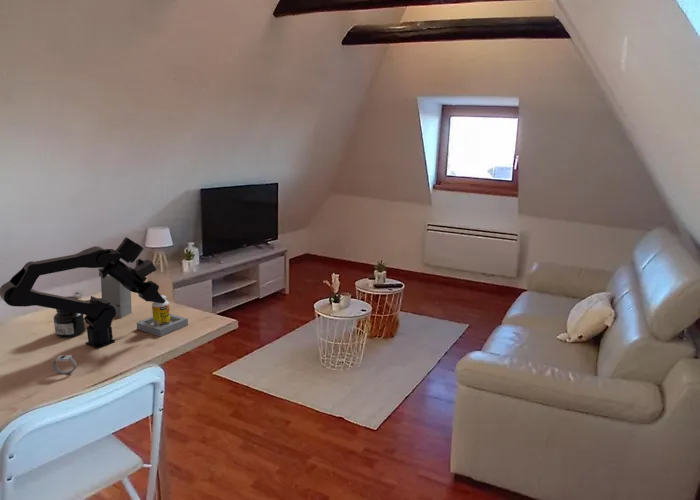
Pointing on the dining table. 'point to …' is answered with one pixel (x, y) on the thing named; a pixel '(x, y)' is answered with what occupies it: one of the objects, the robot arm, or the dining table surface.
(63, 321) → the ink bottle
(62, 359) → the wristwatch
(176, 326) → the tray
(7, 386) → the dining table surface
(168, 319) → the supplement bottle
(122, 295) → the skincare box
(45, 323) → the dining table surface
